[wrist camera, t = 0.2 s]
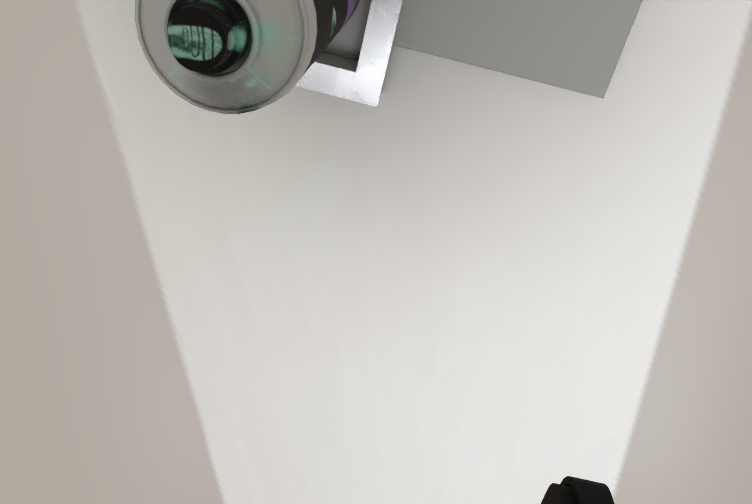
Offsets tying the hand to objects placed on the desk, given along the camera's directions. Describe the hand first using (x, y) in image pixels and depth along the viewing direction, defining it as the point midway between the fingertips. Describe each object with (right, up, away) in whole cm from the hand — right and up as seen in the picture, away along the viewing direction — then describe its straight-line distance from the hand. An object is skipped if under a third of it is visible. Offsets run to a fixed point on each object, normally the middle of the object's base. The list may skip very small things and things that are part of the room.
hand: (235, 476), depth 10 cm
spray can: (-1, +18, +26) cm, 31 cm away
